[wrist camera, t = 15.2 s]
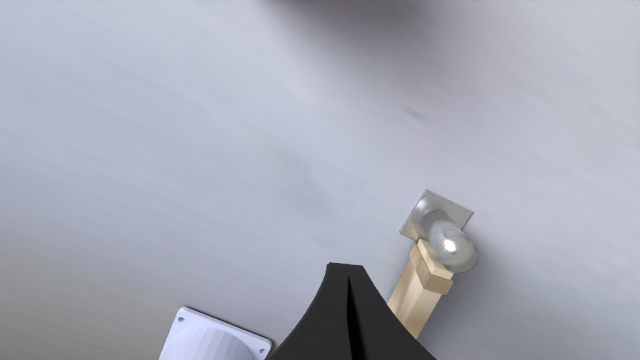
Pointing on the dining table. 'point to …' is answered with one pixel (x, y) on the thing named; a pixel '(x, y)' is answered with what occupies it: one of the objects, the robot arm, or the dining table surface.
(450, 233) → the chrome post on plate
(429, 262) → the wooden capped beam
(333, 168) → the dining table surface
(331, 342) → the robot arm
